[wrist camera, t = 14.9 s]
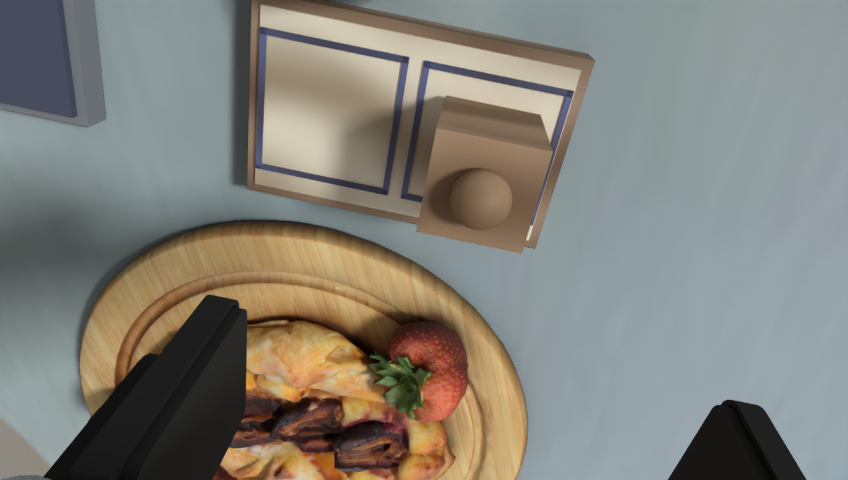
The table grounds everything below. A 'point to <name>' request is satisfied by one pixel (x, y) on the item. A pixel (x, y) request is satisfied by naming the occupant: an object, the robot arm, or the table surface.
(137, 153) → the table surface
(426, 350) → the wooden plate with food
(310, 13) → the form board
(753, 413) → the robot arm
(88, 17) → the ink pad
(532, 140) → the stamp
